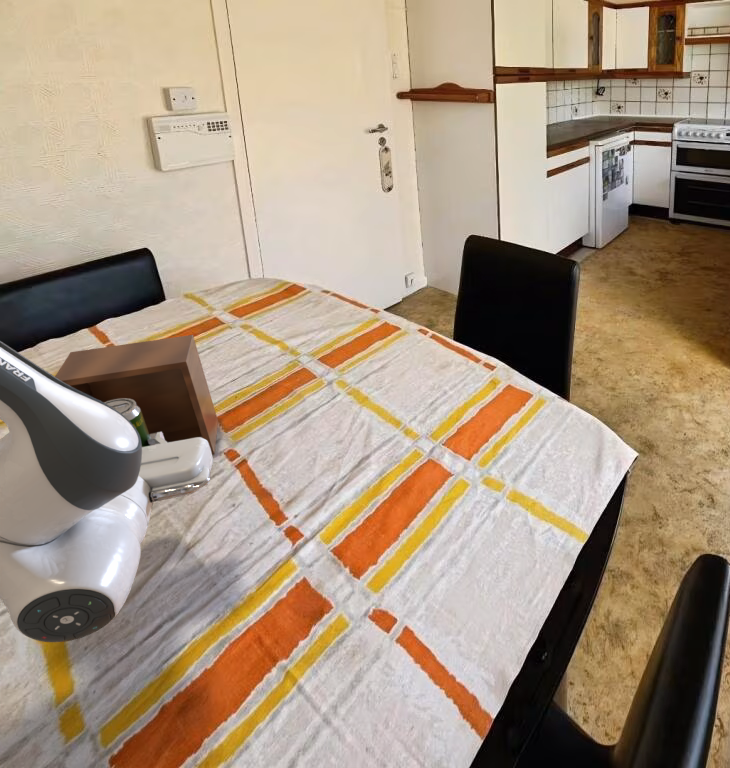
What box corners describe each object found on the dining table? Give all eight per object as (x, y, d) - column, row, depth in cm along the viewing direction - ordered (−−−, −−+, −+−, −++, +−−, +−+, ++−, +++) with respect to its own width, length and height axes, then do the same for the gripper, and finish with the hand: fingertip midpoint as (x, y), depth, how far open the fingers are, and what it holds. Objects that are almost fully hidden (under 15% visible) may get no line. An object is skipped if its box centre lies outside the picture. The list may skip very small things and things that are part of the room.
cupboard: (93, 482, 99) (51, 382, 90) (107, 445, 108) (70, 352, 99) (215, 458, 104) (186, 361, 95) (219, 425, 113) (192, 334, 105)
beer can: (160, 470, 85) (134, 393, 79) (169, 489, 81) (141, 410, 75) (116, 485, 82) (84, 406, 76) (122, 506, 78) (90, 424, 72)
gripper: (201, 465, 69) (210, 406, 80) (-18, 507, 63) (25, 436, 74) (215, 509, 72) (222, 446, 83) (7, 553, 66) (45, 479, 77)
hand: (128, 442), depth 79 cm, fingers closed on beer can, 5 cm apart
